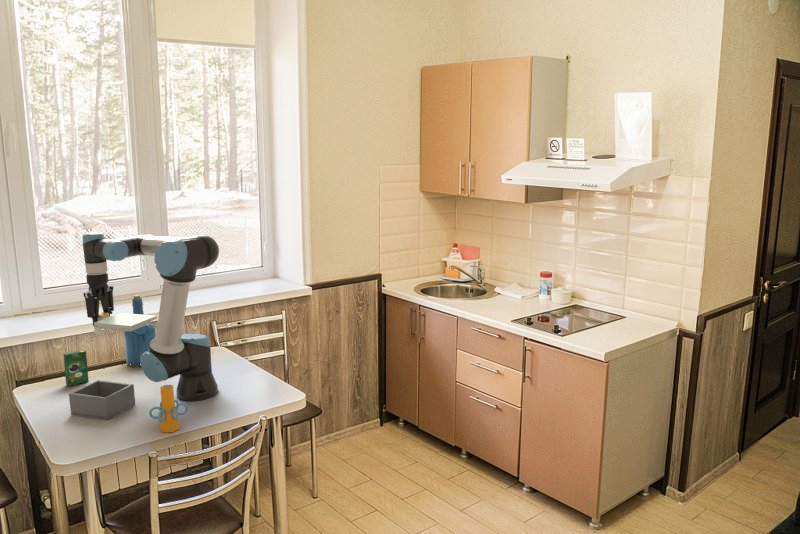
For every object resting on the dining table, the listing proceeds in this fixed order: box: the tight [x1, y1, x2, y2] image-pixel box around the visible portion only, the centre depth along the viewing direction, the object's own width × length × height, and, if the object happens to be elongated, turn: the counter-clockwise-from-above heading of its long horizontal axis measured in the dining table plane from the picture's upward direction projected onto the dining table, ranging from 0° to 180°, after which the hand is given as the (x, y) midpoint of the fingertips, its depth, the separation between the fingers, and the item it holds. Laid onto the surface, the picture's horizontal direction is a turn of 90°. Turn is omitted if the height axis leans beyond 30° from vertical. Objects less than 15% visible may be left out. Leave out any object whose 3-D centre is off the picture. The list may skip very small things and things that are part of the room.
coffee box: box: [63, 349, 90, 387], centre depth 265 cm, size 8×3×13 cm, turn 133°
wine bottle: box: [123, 294, 157, 366], centre depth 288 cm, size 14×13×30 cm
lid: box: [93, 311, 158, 332], centre depth 254 cm, size 22×15×4 cm
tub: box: [68, 379, 136, 421], centre depth 239 cm, size 16×14×8 cm
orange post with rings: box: [149, 384, 189, 434], centre depth 222 cm, size 12×10×15 cm
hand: (102, 332), depth 258 cm, fingers closed on lid, 4 cm apart
